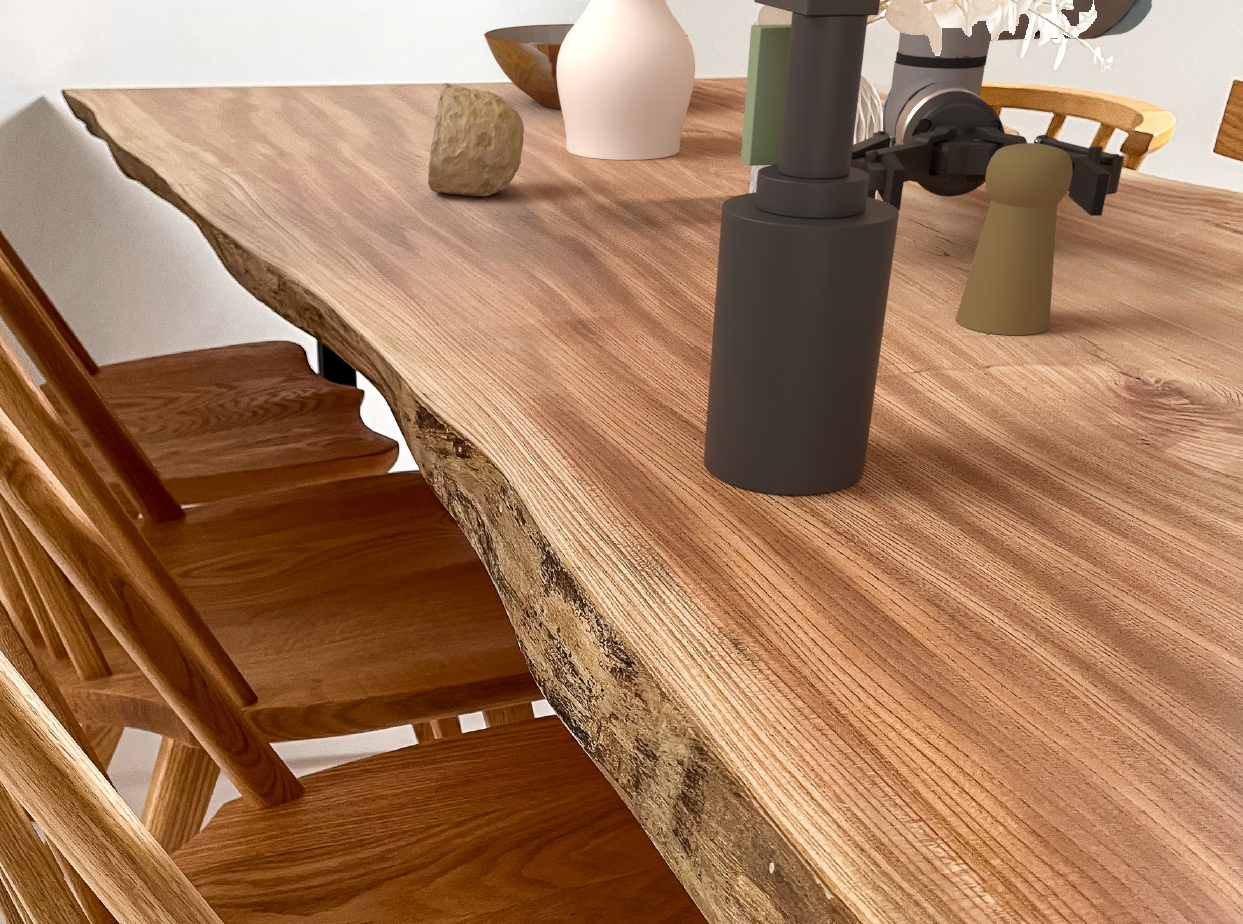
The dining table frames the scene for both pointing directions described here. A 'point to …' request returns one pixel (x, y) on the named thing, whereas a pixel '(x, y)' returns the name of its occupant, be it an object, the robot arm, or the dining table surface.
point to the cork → (1017, 242)
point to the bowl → (530, 58)
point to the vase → (625, 81)
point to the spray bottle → (802, 281)
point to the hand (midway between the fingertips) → (998, 192)
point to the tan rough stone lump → (474, 143)
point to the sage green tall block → (765, 94)
